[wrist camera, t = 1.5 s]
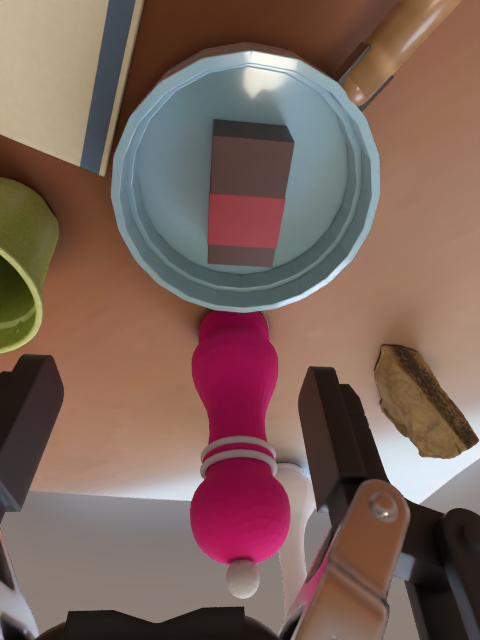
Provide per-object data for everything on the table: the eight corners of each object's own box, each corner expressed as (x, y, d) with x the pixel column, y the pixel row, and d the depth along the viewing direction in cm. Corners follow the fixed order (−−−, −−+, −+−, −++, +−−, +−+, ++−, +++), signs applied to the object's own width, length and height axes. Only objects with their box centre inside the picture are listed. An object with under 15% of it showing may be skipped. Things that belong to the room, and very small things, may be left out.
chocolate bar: (212, 118, 21) (211, 134, 19) (287, 125, 22) (296, 142, 19) (207, 239, 27) (206, 264, 24) (268, 243, 27) (273, 268, 25)
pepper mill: (275, 351, 36) (314, 606, 21) (203, 360, 36) (191, 616, 21) (269, 294, 31) (313, 574, 16) (186, 305, 31) (154, 587, 16)
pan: (167, -25, 17) (155, -29, 14) (411, 124, 22) (441, 145, 19) (102, 236, 27) (87, 269, 23) (285, 302, 31) (292, 335, 28)
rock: (420, 432, 43) (491, 392, 35) (400, 489, 37) (479, 456, 30) (346, 371, 45) (399, 322, 37) (316, 416, 39) (371, 368, 32)
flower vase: (334, 490, 58) (387, 722, 40) (219, 489, 56) (219, 732, 38) (361, 450, 50) (444, 721, 31) (227, 447, 48) (231, 735, 29)
